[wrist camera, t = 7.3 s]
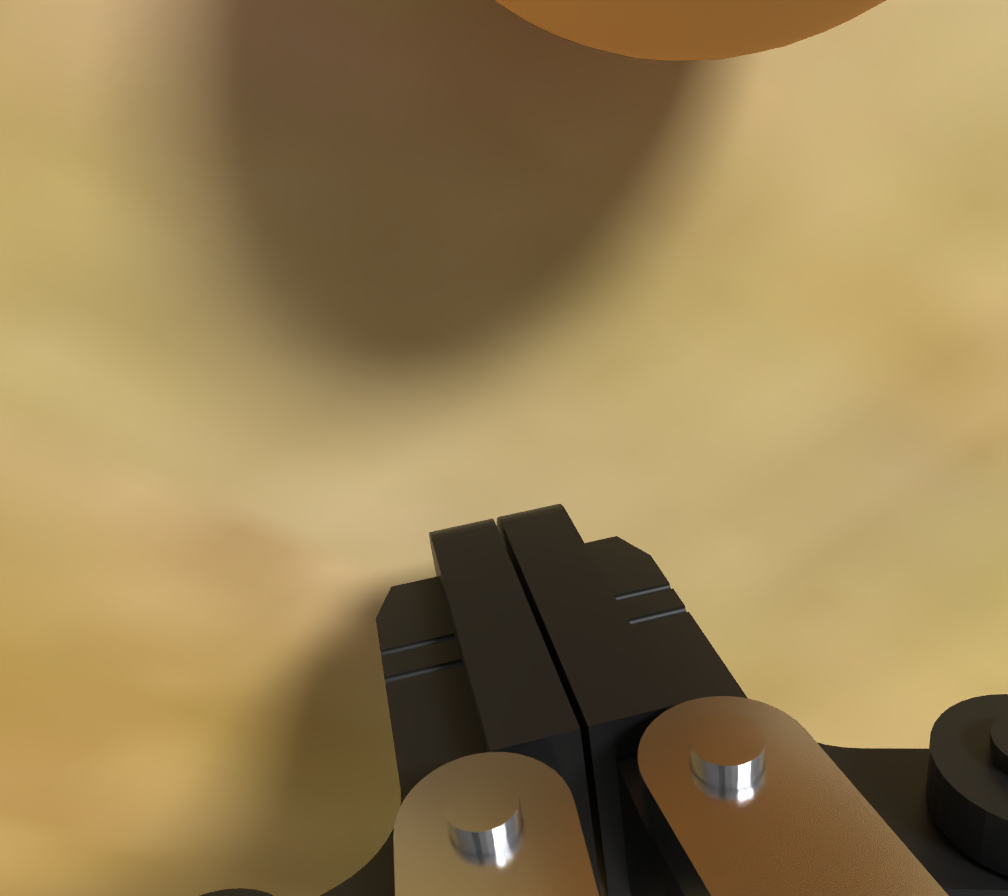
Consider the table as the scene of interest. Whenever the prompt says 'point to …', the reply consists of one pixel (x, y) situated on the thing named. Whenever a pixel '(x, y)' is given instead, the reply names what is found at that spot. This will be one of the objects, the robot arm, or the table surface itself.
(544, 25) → the ball
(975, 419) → the table surface
